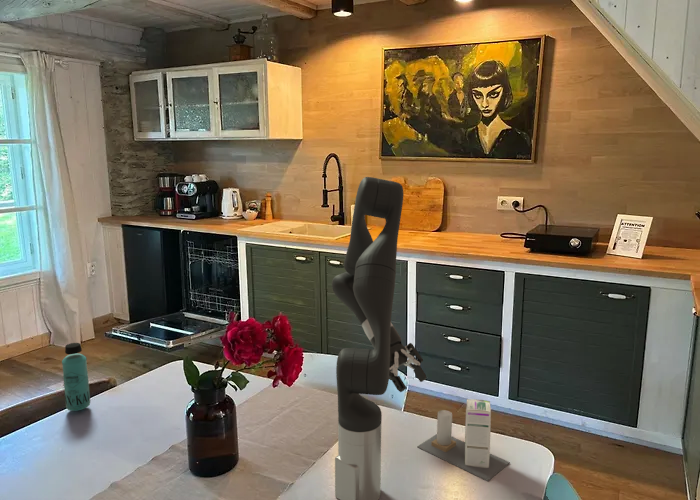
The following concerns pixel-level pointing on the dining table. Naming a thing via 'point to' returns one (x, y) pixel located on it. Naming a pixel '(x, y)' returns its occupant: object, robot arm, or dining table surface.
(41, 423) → the dining table surface
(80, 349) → the beverage bottle
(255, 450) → the dining table surface
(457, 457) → the candle tray
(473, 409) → the syrup box
